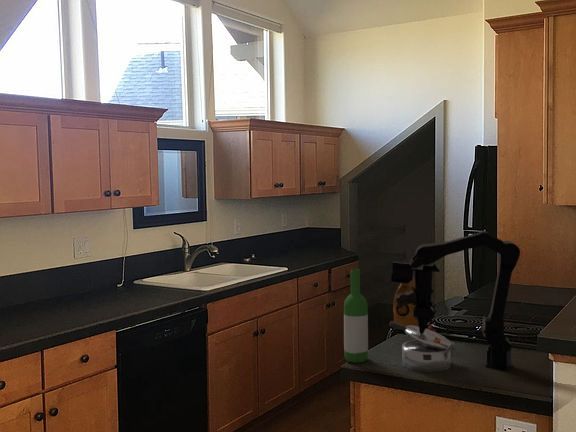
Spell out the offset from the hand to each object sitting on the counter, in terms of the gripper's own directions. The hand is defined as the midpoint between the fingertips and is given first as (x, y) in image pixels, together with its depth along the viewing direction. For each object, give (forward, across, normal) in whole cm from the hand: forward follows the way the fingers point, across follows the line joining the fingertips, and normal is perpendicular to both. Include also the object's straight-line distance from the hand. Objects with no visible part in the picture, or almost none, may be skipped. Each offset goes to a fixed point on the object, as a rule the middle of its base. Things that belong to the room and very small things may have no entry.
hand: (421, 332), depth 207 cm
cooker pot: (+10, 0, +2) cm, 10 cm away
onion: (+10, -18, +4) cm, 21 cm away
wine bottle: (+11, -2, -20) cm, 24 cm away
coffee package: (+11, -47, -4) cm, 48 cm away
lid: (+1, 0, 0) cm, 1 cm away
